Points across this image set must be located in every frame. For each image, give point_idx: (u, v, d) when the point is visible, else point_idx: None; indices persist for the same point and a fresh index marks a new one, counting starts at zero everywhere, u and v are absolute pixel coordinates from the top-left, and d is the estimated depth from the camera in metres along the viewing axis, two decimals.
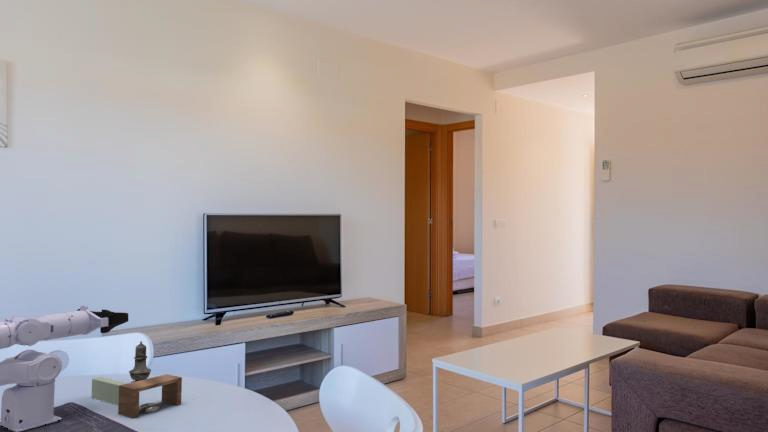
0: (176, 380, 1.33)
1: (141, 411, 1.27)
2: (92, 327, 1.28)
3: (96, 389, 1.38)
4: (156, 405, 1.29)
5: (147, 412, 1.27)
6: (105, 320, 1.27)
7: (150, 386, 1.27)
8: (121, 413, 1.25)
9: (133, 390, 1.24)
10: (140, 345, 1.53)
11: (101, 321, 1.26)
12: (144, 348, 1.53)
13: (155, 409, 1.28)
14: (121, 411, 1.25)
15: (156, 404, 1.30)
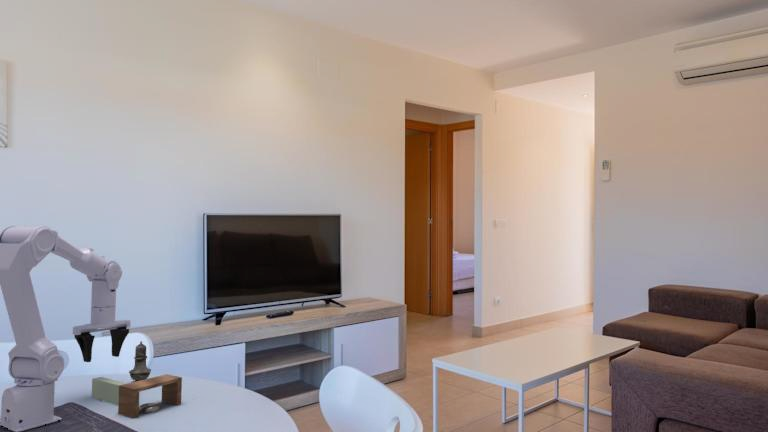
0: (176, 380, 1.33)
1: (141, 411, 1.27)
2: None
3: (96, 389, 1.38)
4: (156, 405, 1.29)
5: (147, 412, 1.27)
6: None
7: (150, 386, 1.27)
8: (121, 413, 1.25)
9: (133, 390, 1.24)
10: (140, 345, 1.53)
11: None
12: (144, 348, 1.53)
13: (155, 409, 1.28)
14: (121, 411, 1.25)
15: (156, 404, 1.30)
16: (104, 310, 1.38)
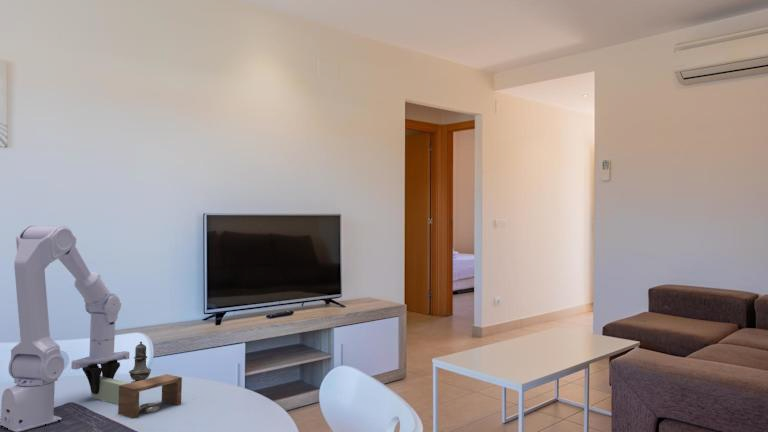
0: (176, 380, 1.33)
1: (141, 411, 1.27)
2: None
3: None
4: (156, 405, 1.29)
5: (147, 412, 1.27)
6: None
7: (150, 386, 1.27)
8: (121, 413, 1.25)
9: (133, 390, 1.24)
10: (140, 345, 1.53)
11: None
12: (144, 348, 1.53)
13: (155, 409, 1.28)
14: (121, 411, 1.25)
15: (156, 404, 1.30)
16: (103, 343, 1.37)
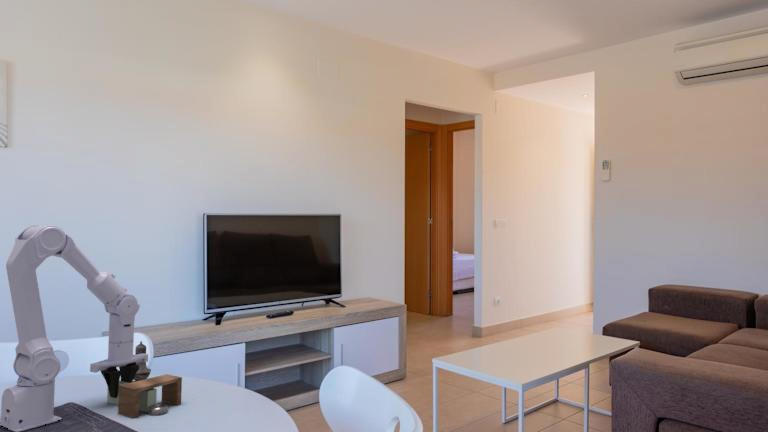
0: (176, 380, 1.33)
1: (150, 412, 1.25)
2: None
3: None
4: (164, 406, 1.28)
5: (156, 413, 1.25)
6: None
7: (150, 386, 1.27)
8: (121, 413, 1.25)
9: (133, 390, 1.24)
10: (140, 345, 1.53)
11: None
12: (144, 348, 1.53)
13: (164, 410, 1.26)
14: (121, 411, 1.25)
15: (165, 405, 1.28)
16: (122, 345, 1.33)
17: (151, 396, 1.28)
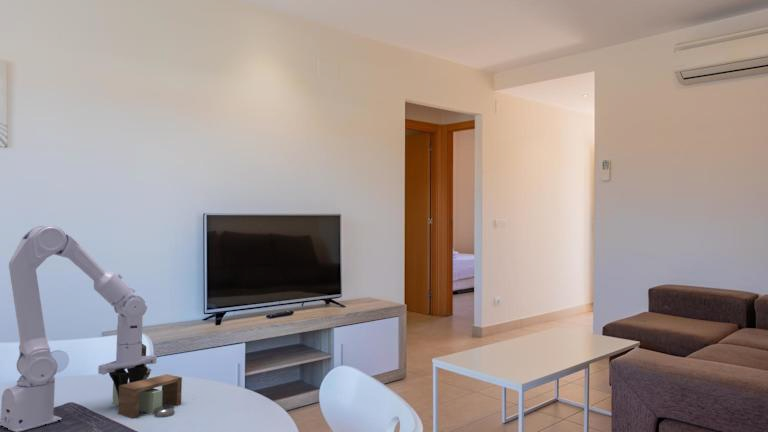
0: (176, 380, 1.33)
1: (156, 415, 1.24)
2: None
3: (117, 394, 1.33)
4: (171, 408, 1.26)
5: (162, 416, 1.24)
6: None
7: (150, 386, 1.27)
8: (121, 413, 1.25)
9: (133, 390, 1.24)
10: None
11: None
12: (144, 348, 1.53)
13: (170, 413, 1.25)
14: (121, 411, 1.25)
15: (171, 408, 1.27)
16: (130, 347, 1.32)
17: (157, 398, 1.27)
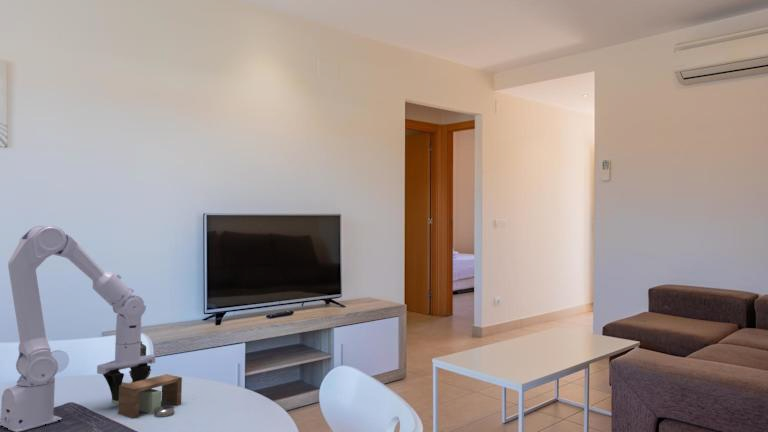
0: (176, 380, 1.33)
1: (156, 415, 1.24)
2: None
3: None
4: (171, 408, 1.26)
5: (162, 416, 1.24)
6: None
7: (150, 386, 1.27)
8: (121, 413, 1.25)
9: (133, 390, 1.24)
10: None
11: None
12: (144, 348, 1.53)
13: (170, 413, 1.25)
14: (121, 411, 1.25)
15: (171, 408, 1.27)
16: (129, 347, 1.32)
17: (156, 398, 1.27)
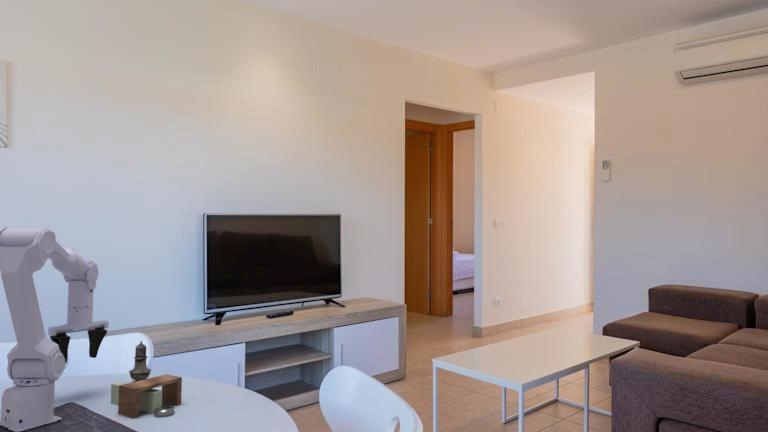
0: (176, 380, 1.33)
1: (156, 415, 1.24)
2: None
3: (116, 395, 1.33)
4: (171, 408, 1.26)
5: (162, 416, 1.24)
6: None
7: (150, 386, 1.27)
8: (121, 413, 1.25)
9: (133, 390, 1.24)
10: (140, 345, 1.53)
11: None
12: (144, 348, 1.53)
13: (170, 413, 1.25)
14: (121, 411, 1.25)
15: (171, 408, 1.27)
16: (80, 311, 1.36)
17: (157, 398, 1.28)
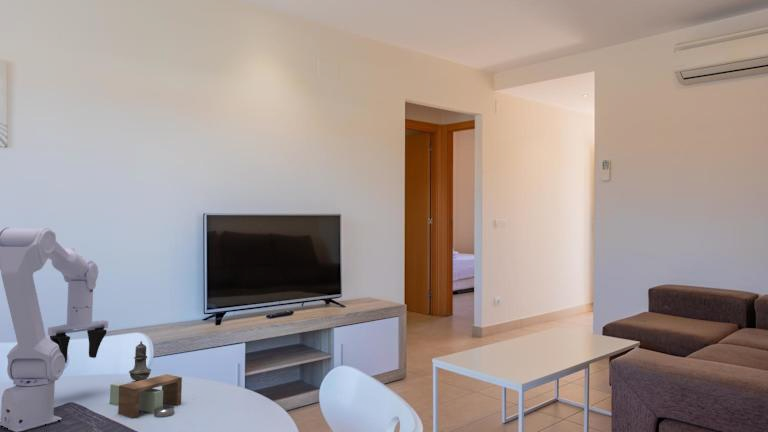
0: (176, 380, 1.33)
1: (156, 415, 1.24)
2: None
3: (115, 395, 1.33)
4: (171, 408, 1.26)
5: (162, 416, 1.24)
6: None
7: (150, 386, 1.27)
8: (121, 413, 1.25)
9: (133, 390, 1.24)
10: (140, 345, 1.53)
11: None
12: (144, 348, 1.53)
13: (170, 413, 1.25)
14: (121, 411, 1.25)
15: (171, 408, 1.27)
16: (80, 311, 1.36)
17: (158, 398, 1.28)
